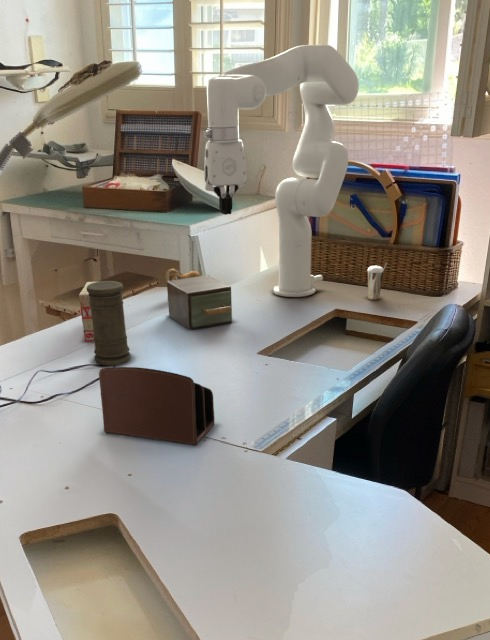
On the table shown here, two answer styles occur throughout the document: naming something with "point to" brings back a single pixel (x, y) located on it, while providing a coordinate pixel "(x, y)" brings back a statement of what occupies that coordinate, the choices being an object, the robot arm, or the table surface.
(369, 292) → the milkshake
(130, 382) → the letter holder
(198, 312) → the drawer
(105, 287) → the container
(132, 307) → the table surface
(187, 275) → the lion figurine
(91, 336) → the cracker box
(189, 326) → the cabinet
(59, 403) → the table surface
